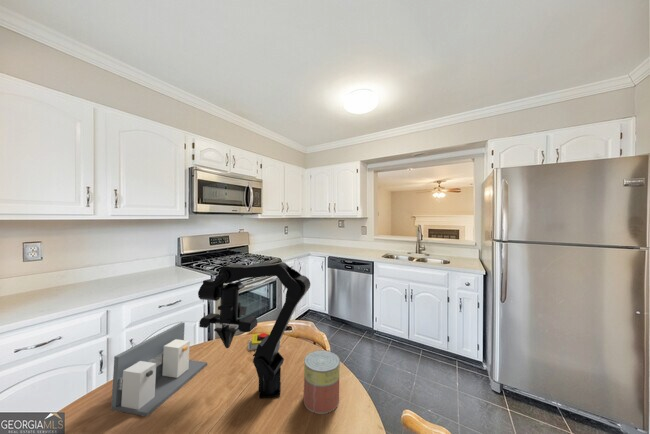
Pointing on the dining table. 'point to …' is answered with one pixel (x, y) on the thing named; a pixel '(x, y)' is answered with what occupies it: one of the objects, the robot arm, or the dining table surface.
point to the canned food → (321, 381)
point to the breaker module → (175, 358)
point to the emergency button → (256, 340)
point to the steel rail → (157, 360)
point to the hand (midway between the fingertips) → (227, 347)
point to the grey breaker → (138, 385)
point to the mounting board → (162, 383)
